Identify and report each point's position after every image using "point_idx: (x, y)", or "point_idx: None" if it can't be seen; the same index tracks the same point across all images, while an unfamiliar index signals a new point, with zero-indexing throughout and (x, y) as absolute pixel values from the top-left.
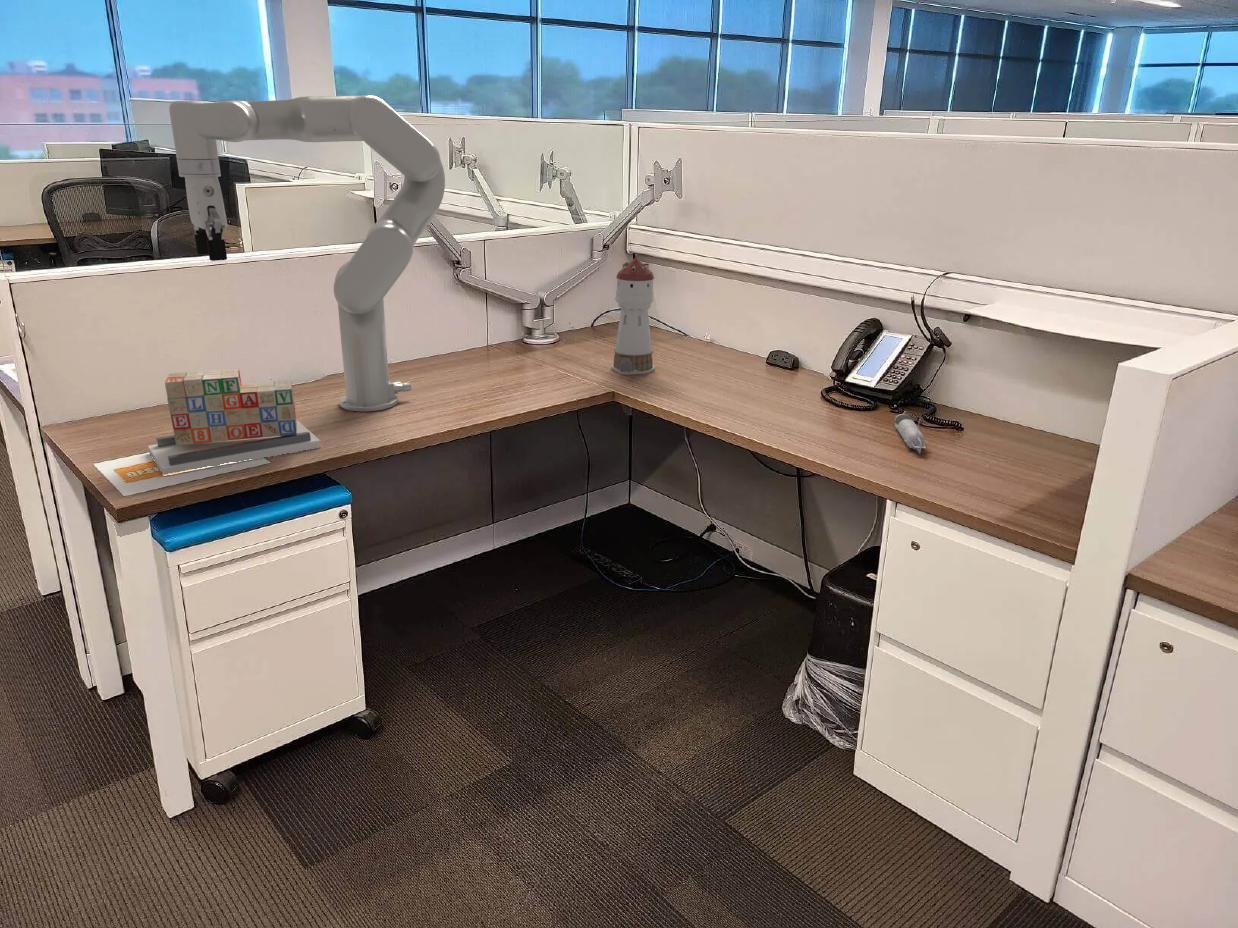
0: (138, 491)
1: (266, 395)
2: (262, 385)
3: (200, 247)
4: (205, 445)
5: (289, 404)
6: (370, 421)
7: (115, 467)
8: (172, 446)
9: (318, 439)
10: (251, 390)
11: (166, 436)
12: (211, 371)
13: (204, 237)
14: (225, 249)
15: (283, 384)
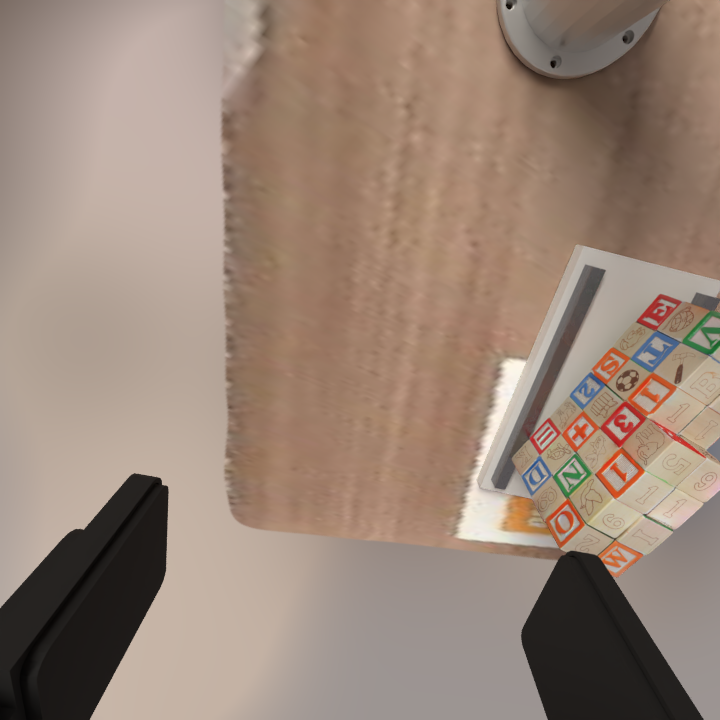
0: None
1: None
2: (711, 394)
3: (137, 617)
4: None
5: None
6: (690, 86)
7: (494, 526)
8: (515, 467)
9: (717, 280)
10: (716, 427)
11: (500, 475)
12: (635, 492)
13: (68, 693)
14: (650, 640)
15: None
